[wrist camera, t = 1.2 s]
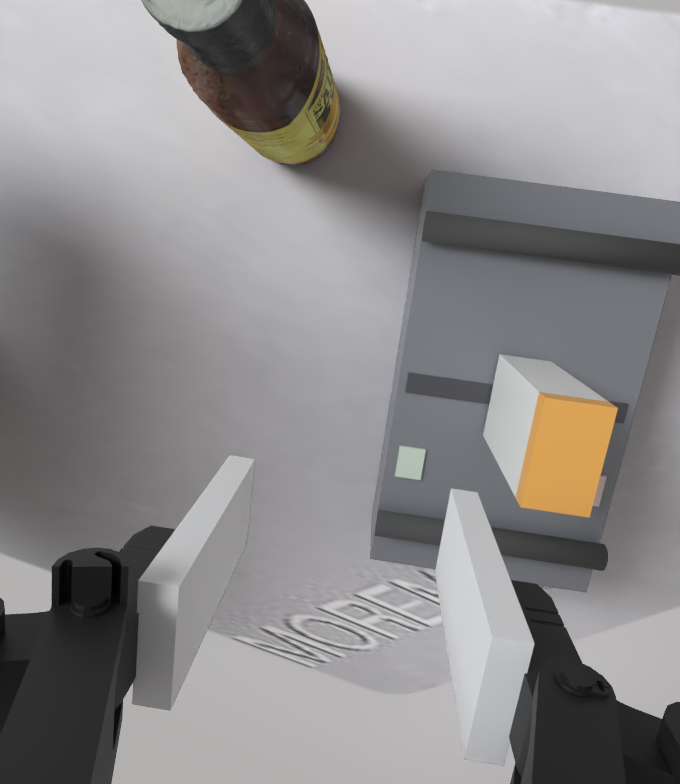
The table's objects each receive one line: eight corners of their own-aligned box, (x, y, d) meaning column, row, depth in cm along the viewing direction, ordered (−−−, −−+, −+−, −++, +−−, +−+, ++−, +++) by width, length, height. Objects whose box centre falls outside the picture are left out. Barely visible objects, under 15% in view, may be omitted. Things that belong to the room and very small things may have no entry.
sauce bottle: (353, 151, 38) (322, 55, 19) (262, 180, 39) (143, 117, 19) (324, 42, 36) (259, -182, 17) (230, 76, 37) (68, -103, 18)
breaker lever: (482, 435, 35) (520, 507, 26) (499, 354, 34) (545, 397, 24) (532, 442, 35) (589, 517, 26) (551, 361, 34) (617, 408, 24)
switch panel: (371, 517, 44) (370, 560, 38) (425, 181, 38) (432, 169, 32) (559, 545, 43) (587, 594, 38) (643, 209, 37) (692, 203, 31)
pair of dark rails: (374, 528, 38) (374, 540, 36) (425, 211, 33) (427, 209, 31) (594, 562, 37) (603, 575, 36) (679, 245, 32) (694, 245, 31)
